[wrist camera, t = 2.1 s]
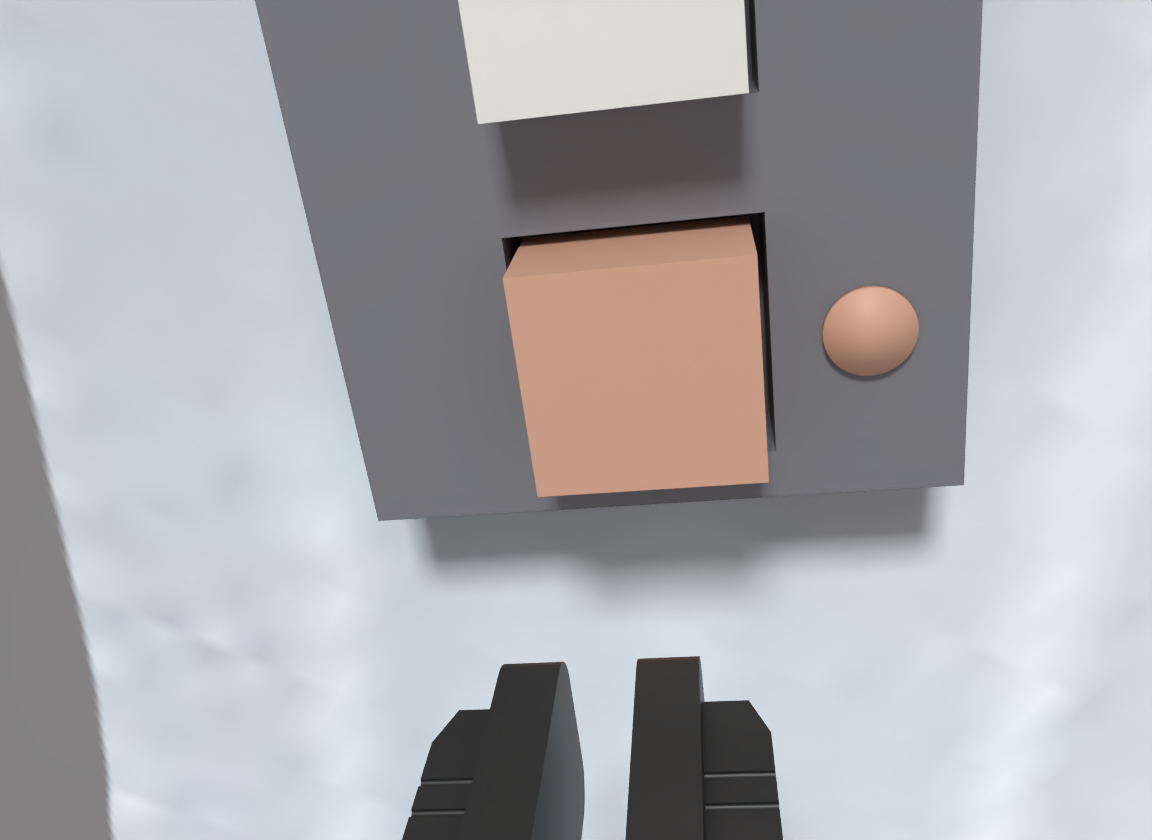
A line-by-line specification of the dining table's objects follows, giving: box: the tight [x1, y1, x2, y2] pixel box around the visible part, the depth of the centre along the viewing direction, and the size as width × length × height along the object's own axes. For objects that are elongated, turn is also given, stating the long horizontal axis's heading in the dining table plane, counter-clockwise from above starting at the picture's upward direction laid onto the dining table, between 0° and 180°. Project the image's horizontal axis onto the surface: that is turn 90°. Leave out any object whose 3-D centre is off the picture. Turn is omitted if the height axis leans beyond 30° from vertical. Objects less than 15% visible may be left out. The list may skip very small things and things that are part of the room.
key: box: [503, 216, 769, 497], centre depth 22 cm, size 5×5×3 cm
